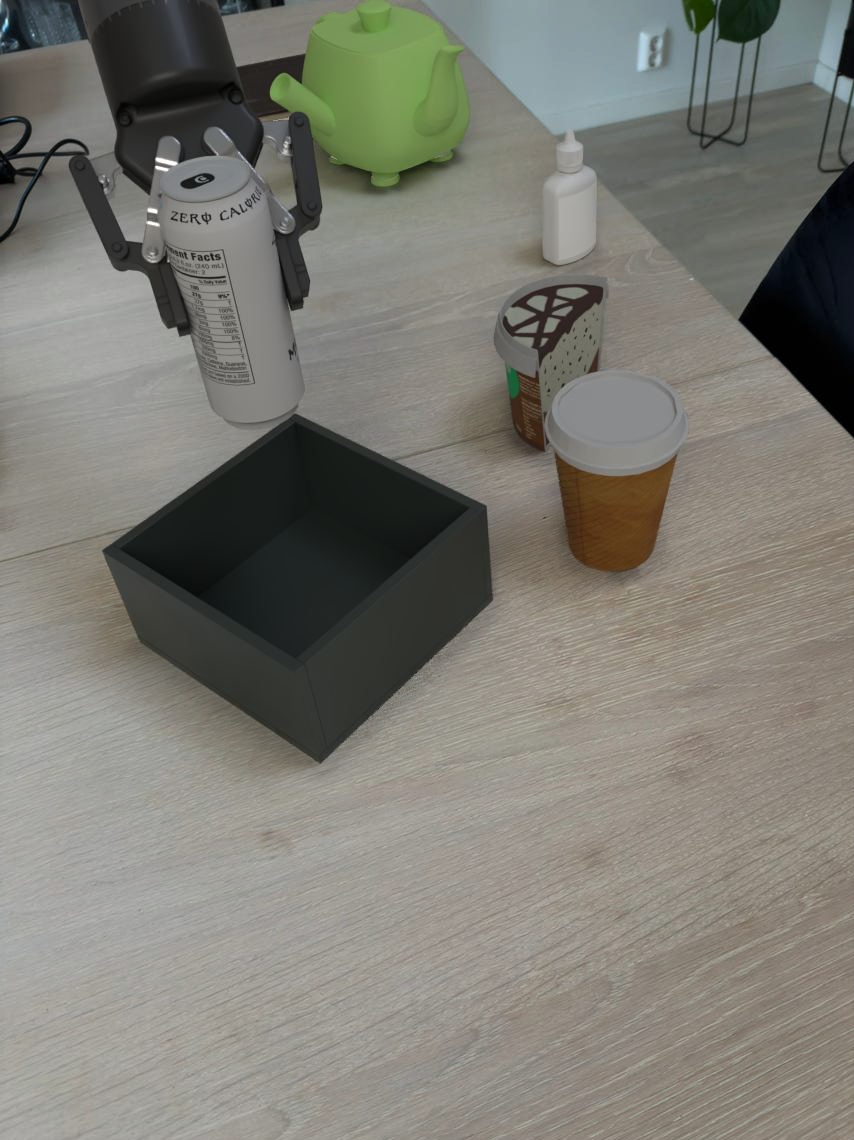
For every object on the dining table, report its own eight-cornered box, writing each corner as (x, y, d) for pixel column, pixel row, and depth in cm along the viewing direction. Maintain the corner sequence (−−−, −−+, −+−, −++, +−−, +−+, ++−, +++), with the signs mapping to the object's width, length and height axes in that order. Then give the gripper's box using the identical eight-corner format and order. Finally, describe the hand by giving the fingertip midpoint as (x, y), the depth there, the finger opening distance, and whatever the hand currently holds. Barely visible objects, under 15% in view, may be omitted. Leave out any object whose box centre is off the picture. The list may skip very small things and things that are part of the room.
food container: (543, 362, 99) (541, 256, 91) (606, 380, 96) (609, 273, 89) (469, 440, 92) (461, 333, 84) (536, 462, 90) (533, 354, 82)
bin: (320, 764, 71) (295, 673, 64) (139, 642, 79) (101, 550, 72) (493, 600, 80) (487, 505, 73) (315, 505, 88) (295, 412, 81)
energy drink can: (326, 406, 71) (282, 175, 60) (245, 448, 69) (184, 215, 58) (274, 367, 75) (223, 140, 63) (195, 405, 72) (128, 176, 61)
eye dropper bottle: (603, 260, 110) (606, 136, 101) (547, 269, 109) (545, 145, 100) (591, 238, 113) (593, 116, 104) (536, 247, 112) (533, 125, 103)
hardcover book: (356, 114, 135) (354, 95, 134) (166, 154, 131) (161, 134, 129) (323, 67, 146) (320, 48, 144) (145, 102, 141) (140, 83, 140)
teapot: (237, 168, 127) (204, 17, 116) (386, 106, 136) (370, -40, 125) (373, 245, 114) (351, 82, 102) (528, 171, 123) (525, 13, 111)
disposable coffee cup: (640, 486, 87) (649, 352, 78) (700, 564, 81) (717, 428, 72) (526, 521, 85) (521, 387, 76) (579, 604, 79) (580, 469, 70)
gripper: (13, 17, 59) (109, 332, 60) (281, -30, 62) (368, 272, 63) (39, 85, 66) (124, 364, 68) (278, 40, 69) (356, 309, 70)
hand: (241, 318), depth 65 cm, fingers closed on energy drink can, 6 cm apart
